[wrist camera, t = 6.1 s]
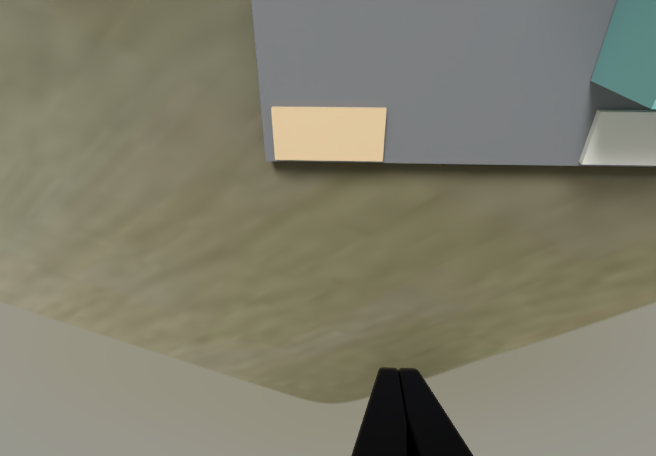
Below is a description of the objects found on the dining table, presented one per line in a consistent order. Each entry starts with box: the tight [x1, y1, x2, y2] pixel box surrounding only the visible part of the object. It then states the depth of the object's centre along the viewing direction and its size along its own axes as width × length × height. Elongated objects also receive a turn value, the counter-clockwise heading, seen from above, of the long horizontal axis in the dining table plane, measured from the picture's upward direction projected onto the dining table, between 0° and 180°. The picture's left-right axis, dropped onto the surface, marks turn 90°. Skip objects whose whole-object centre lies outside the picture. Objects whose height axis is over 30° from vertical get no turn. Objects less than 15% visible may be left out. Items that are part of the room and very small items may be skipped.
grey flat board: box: [251, 0, 656, 167], centre depth 16 cm, size 20×12×1 cm, turn 90°
